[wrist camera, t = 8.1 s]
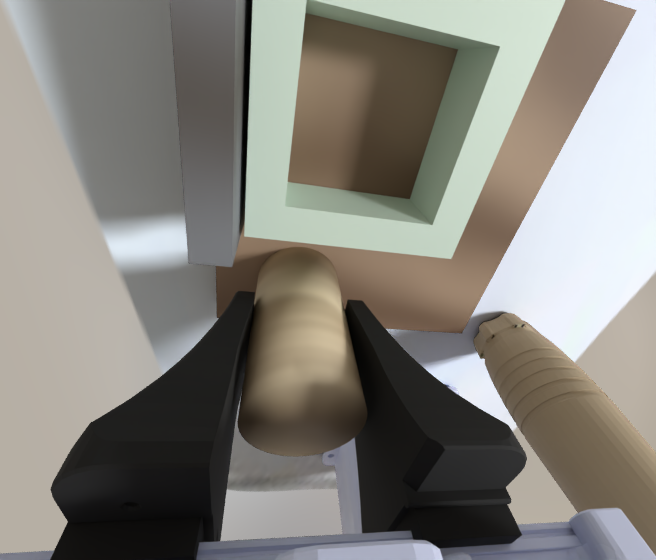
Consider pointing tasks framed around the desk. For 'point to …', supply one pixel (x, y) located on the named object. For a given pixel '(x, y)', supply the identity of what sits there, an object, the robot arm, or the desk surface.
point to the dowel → (300, 360)
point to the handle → (571, 423)
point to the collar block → (446, 137)
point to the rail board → (369, 146)
